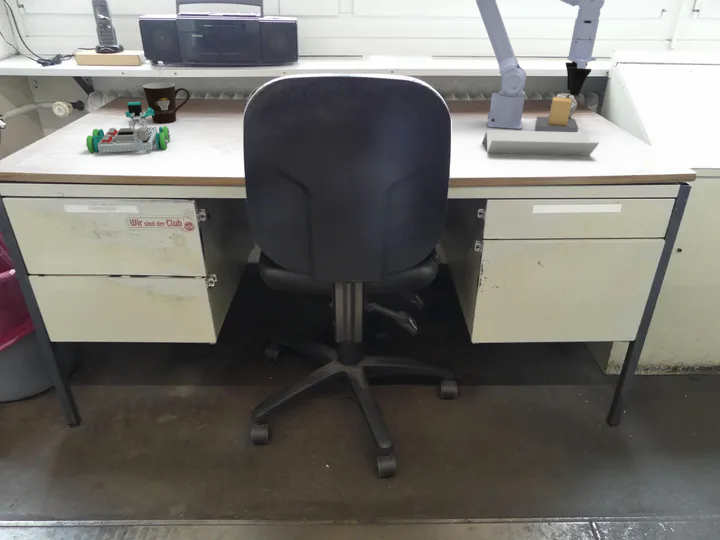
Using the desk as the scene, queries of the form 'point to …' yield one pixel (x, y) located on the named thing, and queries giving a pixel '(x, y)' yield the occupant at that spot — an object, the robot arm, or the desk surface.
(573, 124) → the charcoal stand
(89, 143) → the robot kit
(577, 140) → the grey v-shaped trough
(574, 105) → the game die
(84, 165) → the desk surface
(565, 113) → the ochre block
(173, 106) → the coffee mug
